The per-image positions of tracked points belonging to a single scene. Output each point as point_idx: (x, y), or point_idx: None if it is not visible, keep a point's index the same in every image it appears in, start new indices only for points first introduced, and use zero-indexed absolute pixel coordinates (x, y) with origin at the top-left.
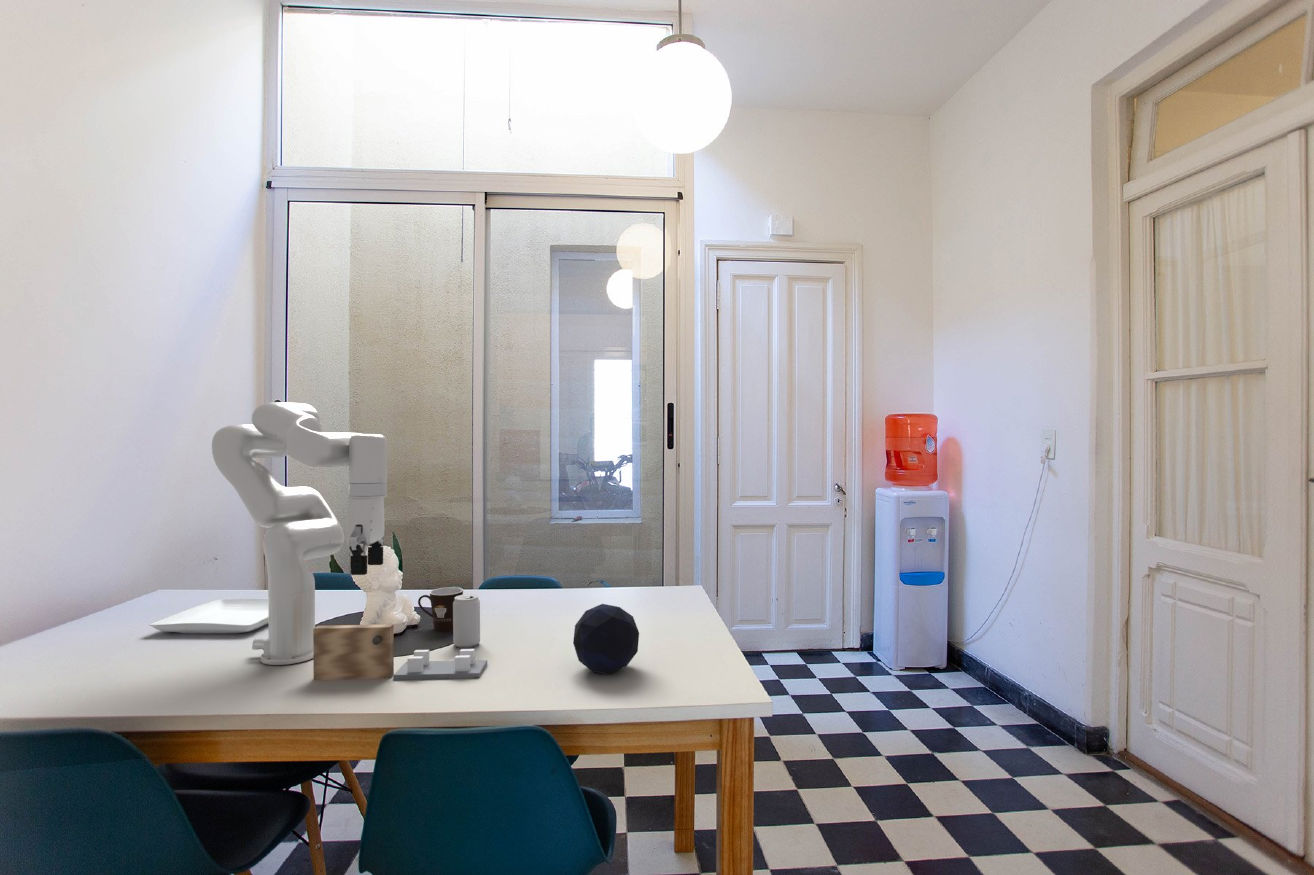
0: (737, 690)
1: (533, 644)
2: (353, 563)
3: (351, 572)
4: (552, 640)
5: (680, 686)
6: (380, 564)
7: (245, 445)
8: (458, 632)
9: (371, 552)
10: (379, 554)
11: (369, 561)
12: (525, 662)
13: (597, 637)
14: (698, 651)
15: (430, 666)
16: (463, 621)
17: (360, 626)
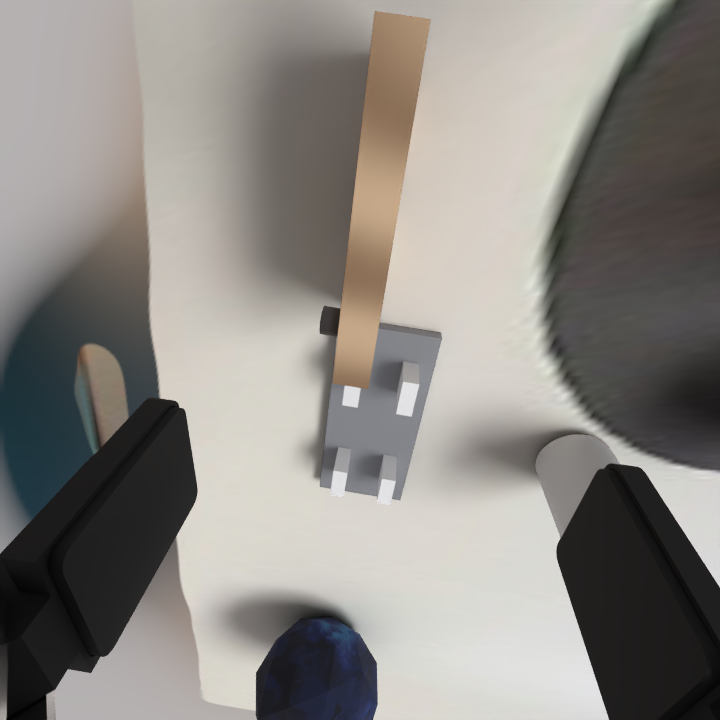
0: (237, 699)
1: (507, 566)
2: (46, 505)
3: (143, 411)
4: (520, 593)
5: (253, 669)
6: (558, 545)
7: None
8: (557, 473)
9: (651, 619)
10: (594, 643)
11: (611, 500)
12: (394, 546)
13: (257, 695)
14: (382, 711)
15: (384, 398)
16: (558, 511)
17: (363, 271)
